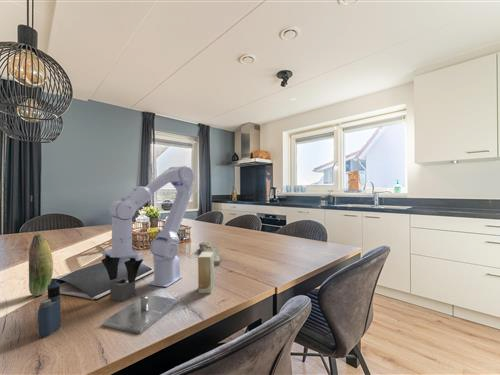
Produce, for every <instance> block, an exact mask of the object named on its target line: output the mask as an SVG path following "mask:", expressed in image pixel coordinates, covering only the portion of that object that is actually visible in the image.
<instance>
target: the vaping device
mask: <svg viewBox="0 0 500 375" xmlns="http://www.w3.org/2000/svg"><path fill="white" fill-rule="evenodd" d="M60 289H61V284H60V282H57V279H53V280H52V279H51V282H50V284H49V285H48V289H47V298H46V299H43V300H41V301H40V304H39V306H38V310H37V332H38V336H39V338H47V337H50V336H51V335H52V334H53V333H55V332H56V331H57V330H59V329H60V328H61V326H62V322H61V319H62V318H61V316H62V315H61V313H62V312H61V290H60Z"/></svg>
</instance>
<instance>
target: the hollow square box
mask: <svg viewBox="0 0 500 375" xmlns="http://www.w3.org/2000/svg"><path fill="white" fill-rule="evenodd" d="M109 294H110V295H109V296H110V298H109V300H112V301H117V302H124V301H126V300H129V299H130V298H132V297H133V296H136V280H135V281H134V282H132V283H128V277H122V278H119V279H117V280H115V281H113V282H110V283H109Z"/></svg>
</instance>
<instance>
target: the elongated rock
mask: <svg viewBox="0 0 500 375" xmlns="http://www.w3.org/2000/svg"><path fill="white" fill-rule="evenodd" d="M198 247H199V250H200V254H201V253H202V252H214V267H216V266H219V265H220V264H221V262H222V255H221V253H220V251H219V247H218V246H217V245H216V244H214V243H212V242H205V241H204V242H200V243H199V245H198Z"/></svg>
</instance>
